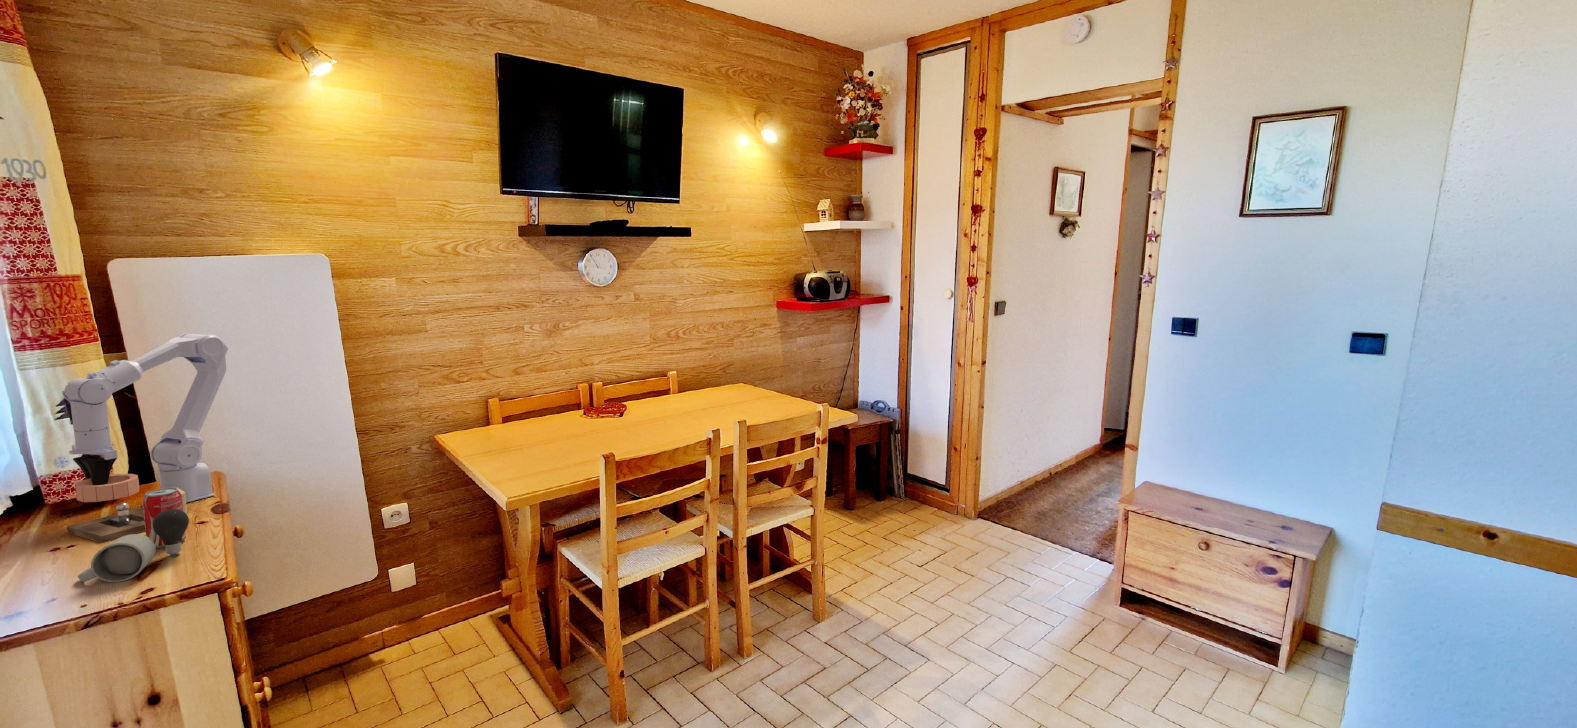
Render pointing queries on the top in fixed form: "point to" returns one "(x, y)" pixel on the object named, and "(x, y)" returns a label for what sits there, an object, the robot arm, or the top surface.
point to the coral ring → (107, 488)
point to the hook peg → (122, 516)
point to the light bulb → (171, 529)
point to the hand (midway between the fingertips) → (98, 485)
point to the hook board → (108, 527)
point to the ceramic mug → (121, 559)
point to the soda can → (159, 509)
